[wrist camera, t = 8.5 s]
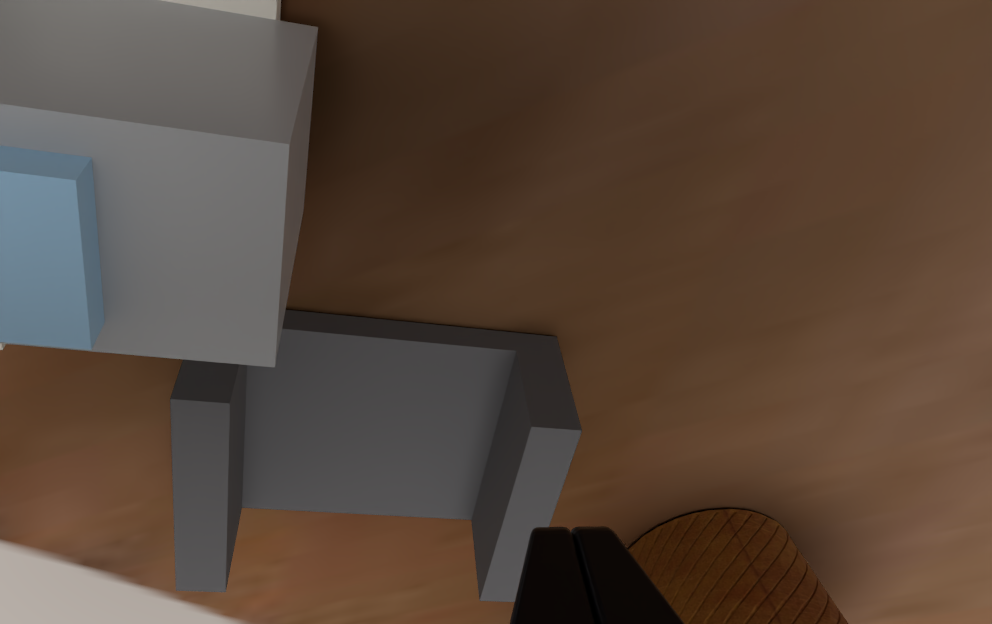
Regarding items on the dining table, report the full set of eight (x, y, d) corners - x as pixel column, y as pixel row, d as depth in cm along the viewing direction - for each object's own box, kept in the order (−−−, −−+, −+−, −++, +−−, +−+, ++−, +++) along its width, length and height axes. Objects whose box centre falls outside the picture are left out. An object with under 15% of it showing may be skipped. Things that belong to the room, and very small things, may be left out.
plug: (318, 27, 16) (284, 166, 11) (303, 209, 18) (270, 395, 13) (-25, -32, 15) (-240, 95, 10) (5, 172, 17) (-158, 360, 12)
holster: (556, 336, 22) (582, 430, 19) (507, 501, 25) (522, 602, 22) (202, 301, 20) (170, 398, 17) (202, 483, 24) (175, 590, 21)
